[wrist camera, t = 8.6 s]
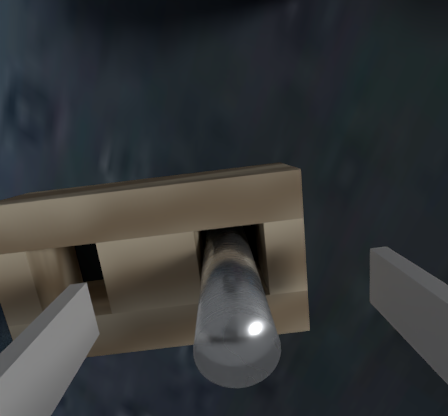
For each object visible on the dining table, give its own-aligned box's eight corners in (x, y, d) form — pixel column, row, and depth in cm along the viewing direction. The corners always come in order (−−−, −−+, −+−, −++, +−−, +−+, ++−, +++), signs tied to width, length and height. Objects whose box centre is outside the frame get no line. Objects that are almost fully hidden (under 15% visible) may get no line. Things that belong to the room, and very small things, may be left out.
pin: (203, 220, 21) (187, 318, 9) (243, 215, 21) (277, 307, 9) (208, 257, 22) (199, 392, 10) (247, 253, 22) (283, 382, 10)
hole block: (28, 192, 20) (-31, 209, 15) (280, 162, 20) (300, 169, 15) (63, 316, 23) (21, 364, 18) (289, 289, 23) (309, 330, 18)
